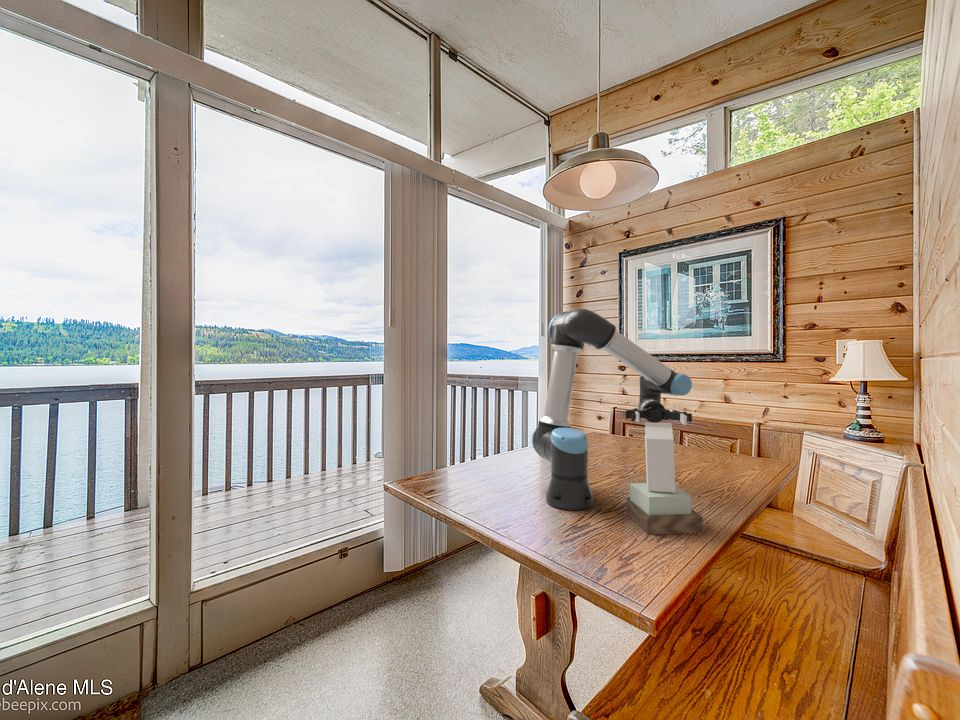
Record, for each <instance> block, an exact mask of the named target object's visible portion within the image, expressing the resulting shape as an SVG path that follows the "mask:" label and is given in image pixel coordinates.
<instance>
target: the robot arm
mask: <svg viewBox="0 0 960 720" xmlns="http://www.w3.org/2000/svg"><path fill="white" fill-rule="evenodd" d="M548 335H549V337H550V338H551V341H550V347H551V349H552V350H553V354H552V362H551V367H550V375H549V381H548V385H547V386H548V387H547V394H546V400H545V407H544V413H543V416H541V418H540V419H538V423H537V424H538V425H537V427H536V428H534V430H533V431H532V435H531V445H532V448H533V450H534V451H535V452H536V453H537V454H538V456H539V457H541V458H543V459H545V460H547V461H549V462H551V463H550V468H551V469H550V474H551V477H550V480H549V484H548V487H547V489H546V493H545V502H546V501H547V502H546V503H547V504H548V503H549V504H550V505H549V504H548V505H549V506H551V505H552V506H551V507H553V506H554V508H556V507H558V508H557V509H560V508H562V509H561V510H565V509H567V510H566V511H581V509H583V510H585V509H586V508H587V509H590V508H591V507H593V505H594V495H593V493H592V489H591V487H590V484H589V481H588V480H589V479H588V469H589V468H588V463H589V461H588V460H589V459H588V457H589V456H588V453H589V452H588V448H589V443H588V436H587V435H586V433H585V432H584V431H582V430H580V429H577V428H573V427H572V424H571V423H570V421H569V413H570V407H571V402H572V400H571V399H572V395H573V388H574V382H575V380H574V379H575V374H576V368H577V362H578V356H579V354H580V353H581V352H583V350H584V344H587V345H589V346H592V347H594V348H595V349H597V350H604V351H605V352H606V353H608V354H609V355H611V356H613V357H614V358H615V359H616V360H619V361H620V362H622V363H623V364H624V365H625V366H627V367H629V368H630V369H631V370H633V371H634V372H636V373H637V374H639V377H638V378H639V398H638V399H639V400H638V401H639V402H638V408H637V407H635V408H632V409H628V410H627V409H626V410H625V414H624V415H625V416H624V417H625V419H631V420H630V421H631V422H636V423H640V419H645V420H646V421H648V423H661V422H662V421H663V420H664V421H669V420H672V421H678V422H680V423H681V424H682V425H683V426H687V425H688V422H689V423H692V422H693V413H690V412H687V411H679V410H675V409H673V410H670V409H667V408H665V406H664V405H663V404H662V401H661V396H662V394H664V395H665V394H666V395H672V396H674V397H677V396H682V397H683V396H686V395H689V393H690V392H691V390H692V387H693V381H692V379H691V377H690V376H689V375H687V374H684V373H678V372H675V370H673V369H672V368H669V366H667V365H666V364H664V363H663V362H662V361H660V360H659V359H657V358H656V357H654V356H653V355H651V354H650V353H649V352H647V351H646V350H644V349H643V348H641V347H640V346H639V345H637V344H636V343H634V342H633V341H632V340H630V339H629V338H628V337H626V336H624V334H622V333H620V332H619V331H618V330H617V326H616V325H615V324H613V323H612V322H610V321H609V320H607V319H606V318H604V317H603V316H601V315H599V314H597V312H595V311H592V310H590V309H587V308H577V309H573V310H572V309H571V310H568V311H567V310H566V311H562V312H560V313H557V314H556V315H555V316H553V318H552V319H551V320H550V322H549V325H548ZM589 507H590V508H589Z"/></svg>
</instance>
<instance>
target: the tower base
mask: <svg viewBox="0 0 960 720" xmlns="http://www.w3.org/2000/svg"><path fill="white" fill-rule="evenodd" d="M626 513H627V515H628V516H629V517H630V518H631V519H632V520H633V521H634V522H635V523H636V524H637V525H638V526H639V527H640V528H641V529H642V531H644V532H645V533H646V534H647V535H675V534H676V535H681V534H680V533H700V534H703V533H704V531H703V523H704V522H703V518H704V517H703V516H702V515H700V514H699V512H696V511H695V510H694V509H693V508H691V514H675V515H648V514H647V513H646V512H644V511H643V510H642V509H641V508H639V507H638V506H637V505H636V504H634V503H633V502H632V501H631V500H630V497H626Z"/></svg>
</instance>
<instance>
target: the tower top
mask: <svg viewBox="0 0 960 720" xmlns="http://www.w3.org/2000/svg"><path fill="white" fill-rule="evenodd" d="M629 498H630V500H631V501H632V502H633V503H634V504H636V505H637V506H638V507H639V508H641V509H642V510H643V511H644V512H646V513H647V514H648V515H675V514H691V509H692V495H690V494H689V493H687V492H685V491H684V490H682V489H681V488H679V487H677V486H675V493H671V492H656V491H648V488H647V482H638V483H637V482H635V483H631V482H630V483H629Z"/></svg>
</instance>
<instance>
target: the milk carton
mask: <svg viewBox="0 0 960 720" xmlns="http://www.w3.org/2000/svg"><path fill="white" fill-rule="evenodd" d="M644 426H645V427H644V445H645V467H646V470H645V471H646V472H645V475H646V477H645V478H646V483H647V488H648V491H656V492H671V493H675V487H676V469H675V466H676V465H675V464H676V463H675V441H674V439H675V438H674V432H673V431H674V430H673V423H672V422H658V423H652V422H645V423H644Z"/></svg>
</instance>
